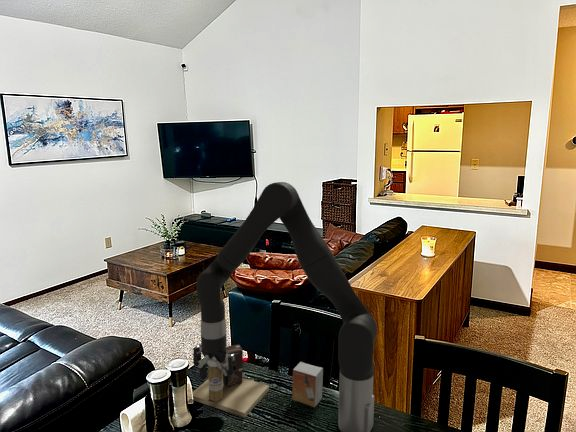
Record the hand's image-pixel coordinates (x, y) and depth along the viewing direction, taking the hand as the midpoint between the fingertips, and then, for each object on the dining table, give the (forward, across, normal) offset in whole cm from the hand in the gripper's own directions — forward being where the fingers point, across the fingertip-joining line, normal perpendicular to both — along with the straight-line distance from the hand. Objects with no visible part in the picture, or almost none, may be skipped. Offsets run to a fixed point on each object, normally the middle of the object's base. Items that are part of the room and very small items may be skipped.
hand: (215, 381), depth 128 cm
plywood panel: (+7, -2, -5) cm, 9 cm away
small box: (+7, -25, -14) cm, 29 cm away
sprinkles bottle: (+6, 0, 0) cm, 6 cm away
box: (+6, 0, -9) cm, 11 cm away
